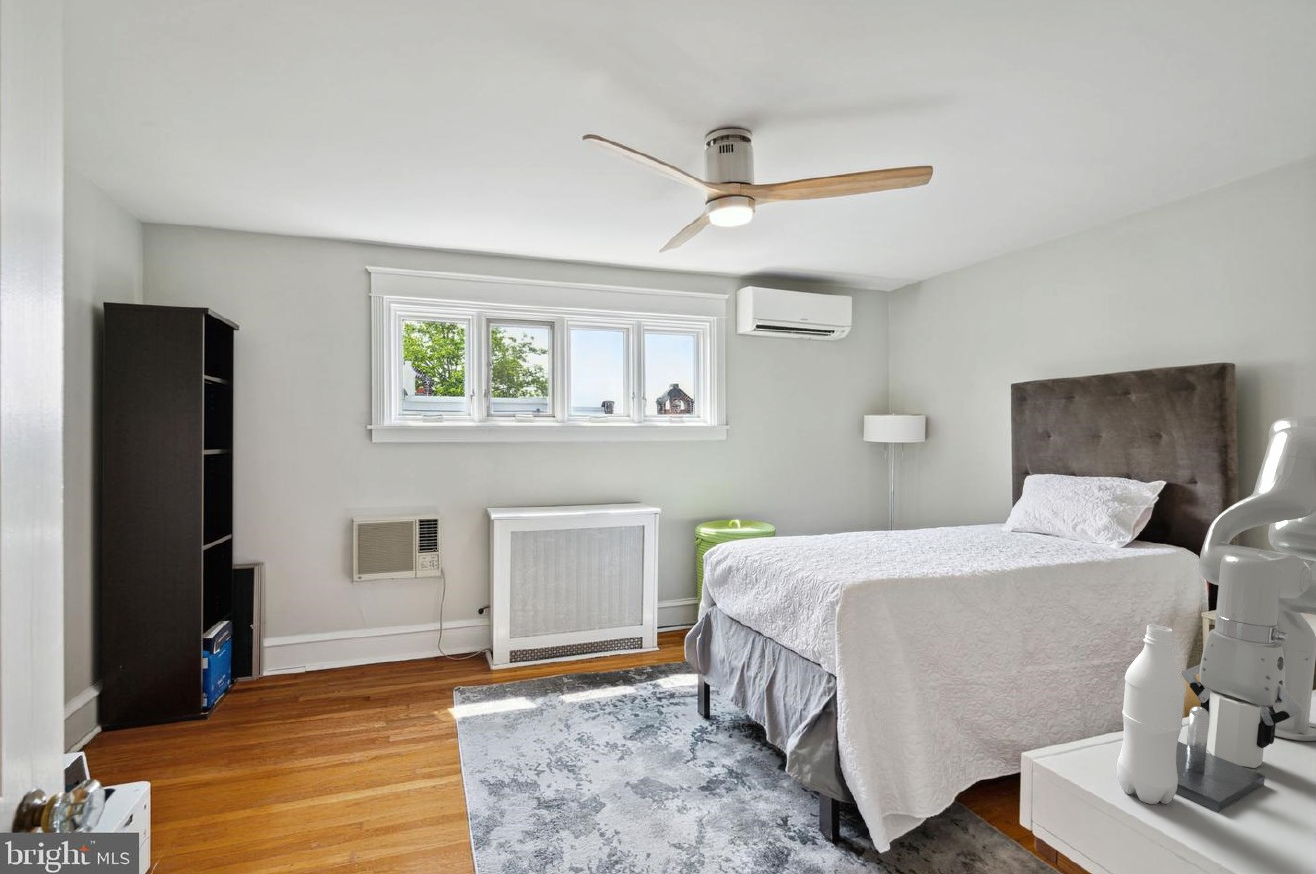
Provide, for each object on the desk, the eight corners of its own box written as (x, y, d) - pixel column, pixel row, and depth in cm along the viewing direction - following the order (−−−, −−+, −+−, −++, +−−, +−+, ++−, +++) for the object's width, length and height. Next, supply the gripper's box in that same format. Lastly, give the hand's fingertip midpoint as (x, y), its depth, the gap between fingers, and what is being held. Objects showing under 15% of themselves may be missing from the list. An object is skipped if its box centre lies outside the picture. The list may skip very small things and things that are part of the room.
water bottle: (1186, 813, 93) (1202, 639, 92) (1129, 804, 95) (1144, 633, 94) (1159, 785, 100) (1173, 623, 99) (1106, 777, 102) (1120, 617, 101)
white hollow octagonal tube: (1217, 742, 115) (1222, 686, 114) (1266, 761, 109) (1272, 702, 109) (1199, 751, 112) (1205, 693, 111) (1250, 771, 106) (1255, 710, 105)
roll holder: (1172, 748, 112) (1178, 683, 112) (1264, 785, 102) (1271, 714, 102) (1124, 770, 104) (1130, 700, 104) (1218, 812, 94) (1225, 735, 94)
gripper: (1324, 644, 104) (1313, 755, 105) (1192, 611, 119) (1183, 709, 120) (1306, 651, 100) (1295, 766, 101) (1172, 616, 115) (1163, 717, 116)
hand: (1235, 734), depth 110 cm, fingers closed on white hollow octagonal tube, 6 cm apart
